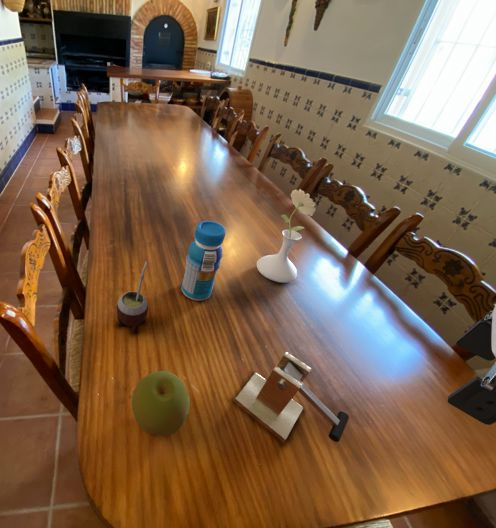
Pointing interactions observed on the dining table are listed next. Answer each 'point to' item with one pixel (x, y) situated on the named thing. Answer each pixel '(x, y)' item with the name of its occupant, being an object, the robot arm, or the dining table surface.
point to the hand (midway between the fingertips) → (469, 378)
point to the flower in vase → (286, 244)
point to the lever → (319, 405)
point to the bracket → (274, 398)
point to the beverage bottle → (203, 260)
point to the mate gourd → (132, 307)
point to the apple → (160, 403)
